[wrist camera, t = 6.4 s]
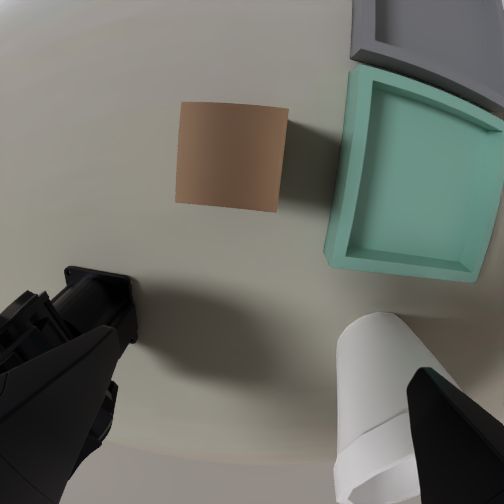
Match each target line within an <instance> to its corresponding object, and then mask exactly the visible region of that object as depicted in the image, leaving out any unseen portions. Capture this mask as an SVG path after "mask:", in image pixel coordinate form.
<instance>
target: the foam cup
mask: <svg viewBox="0 0 504 504" xmlns="http://www.w3.org/2000/svg"><path fill="white" fill-rule="evenodd" d="M336 366H337V409H338V430H337V459H336V463H335V466H334V469H333V471H334V481H335V490H336V501H337V502H339V503H340V504H393V503H397V502H400V501H403V500H406V499H409V498H412V497H415V496H418V495H420V486H419V478H418V471H417V465H416V459H415V453H414V447H413V442H412V436H411V429H410V420H409V410H408V401H407V393H406V390H407V386H408V384H409V382H410V381H411V379H412V377H413V376H414V374H415V372H416V371H417V369H419V368H420V367H431V368H433V369H434V370H435V371H437V372H438V373H439V374H440V375H442V376H443V377H444V378H445V379H447V380H448V381H449V382H451V383H452V384H453V385H454V386H456V387H457V388H458V389H459V390H461V388H460V387H459V386H458V385H457V383H456V382H455V381H454V380H453V378H452V377H451V376H450V375H449V374H448V372H447V371H446V370H445V369H444V367H443V366H442V365H441V364H440V363H439V361H438V360H437V359H436V358H435V357H434V355H433V354H432V353H431V352H430V351H429V350H428V348H427V347H426V346H425V345H424V344H423V343H422V341H421V340H420V339H419V338H418V337H417V336H416V335H415V333H414V332H413V331H412V330H411V329H410V328H409V327H408V326H407V324H405V323H404V322H403V320H401V319H400V318H399V317H397V316H396V315H395V314H393V313H386V312H375V313H371V314H368V315H365V316H361V317H360V318H358V319H357V320H355V321H354V322H353V323H351V324H350V325H348V326H347V327H346V328H345V330H344V331H343V333H342V334H341V336H340V337H339V339H338V340H337V349H336ZM461 391H462V390H461ZM462 392H463V391H462ZM463 393H464V392H463Z"/></svg>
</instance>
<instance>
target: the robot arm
mask: <svg viewBox="0 0 504 504" xmlns="http://www.w3.org/2000/svg"><path fill="white" fill-rule="evenodd" d="M69 272H70V273H71V274H70V273H69ZM64 274H65V279H66V284H67V286H66V287H65V288H64V289H63V290H62V291H61V292H60V293H59V294H57V295H56V296H55V297H54V298H53V299H52V300H51V301H50V300H49V296H48V294H47V293H46V291H44V292H42V293H41V294H39V295H38V294H33V293H32V292H30V291H28V290H27V291H26V292H24V293H23V294H22V295H21V296H20V297H18V298H17V299H16V300H15V301H14V302H12V303H11V304H10V305H9V306H8V307H7V308H6V309H5V310H4V311H3V312H2V313H1V314H0V504H59V502H60V499H61V496H62V494H63V491H64V489H65V486H66V484H67V481H68V480H69V479H70V478H71V476H72V475H73V474H74V472H75V471H76V469H77V468H78V466H79V465H80V464H81V462H82V461H83V460H84V459H85V458H86V457H87V456H88V455H89V454H90V453H92V452H93V451H94V450H96V449H97V448H99V447H100V446H101V445H102V441H103V440H104V439H105V437H106V436H107V434H108V433H109V431H110V429H111V425H112V421H113V414H114V408H115V403H116V397H117V392H118V385H117V384H116V383H115V382H114V381H112V380H111V378H112V375H113V372H114V370H115V367H116V364H117V361H118V359H119V358H120V357H121V356H122V354H123V352H124V351H125V349H126V347H127V346H128V344H129V343H131V344H134V343H136V341H137V339H138V336H137V330H138V325H137V318H136V310H135V304H134V303H133V300H132V291H131V282H130V279H129V278H128V277H126V276H123V275H117V274H111V273H105V272H100V271H94V270H89V269H83V268H78V267H73V266H68V267H67V268H65V270H64ZM122 281H124V282H125V284H124V283H123V282H122ZM132 338H133V339H132ZM406 393H407V401H408V410H409V420H410V429H411V436H412V442H413V447H414V453H415V459H416V465H417V471H418V478H419V486H420V494H421V503H422V504H504V426H503V424H502V423H501V422H499V421H498V420H497V419H496V418H494V417H493V416H492V415H491V414H489V413H488V412H487V411H486V410H484V409H483V408H482V407H481V406H479V405H478V404H477V403H476V402H474V401H473V400H472V399H471V398H469V397H468V396H467V395H466V394H464V393H463V392H462V391H461V390H459V389H458V388H457V387H456V386H454V385H453V384H452V383H451V382H449V381H448V380H447V379H445V378H444V377H443V376H442V375H440V374H439V373H438V372H437V371H435V370H434V369H433V368H431V367H420V368H419V369H417V371H416V372H415V374H414V376H413V377H412V379H411V381H410V382H409V384H408V386H407V390H406Z"/></svg>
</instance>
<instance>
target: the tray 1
mask: <svg viewBox="0 0 504 504" xmlns="http://www.w3.org/2000/svg"><path fill="white" fill-rule="evenodd" d="M350 59H353V60H357V61H361V62H365V63H369V64H373V65H376V66H380V67H383V68H387V69H390V70H393V71H396V72H399V73H402V74H405V75H408V76H411V77H414V78H417V79H420V80H422V81H425V82H428V83H430V84H433V85H435V86H438V87H440V88H443V89H445V90H447V91H450V92H452V93H454V94H457V95H459V96H461V97H463V98H465V99H467V100H469V101H471V102H474V103H476V104H478V105H480V106H481V107H483V108H485V109H487V110H489V111H491V112H504V11H503V6H502V1H501V0H353V5H352V33H351V51H350Z"/></svg>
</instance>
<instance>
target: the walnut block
mask: <svg viewBox="0 0 504 504" xmlns="http://www.w3.org/2000/svg"><path fill="white" fill-rule="evenodd" d="M288 111H289V109H286V108H277V107H268V106H258V105H246V104H232V103H212V102H182V103H181V114H180V126H179V139H178V154H177V172H176V197H175V202H176V203H188V204H199V205H209V206H220V207H230V208H239V209H248V210H257V211H266V212H275V213H277V205H278V197H279V189H280V181H281V172H282V164H283V155H284V147H285V138H286V129H287V120H288Z"/></svg>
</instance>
